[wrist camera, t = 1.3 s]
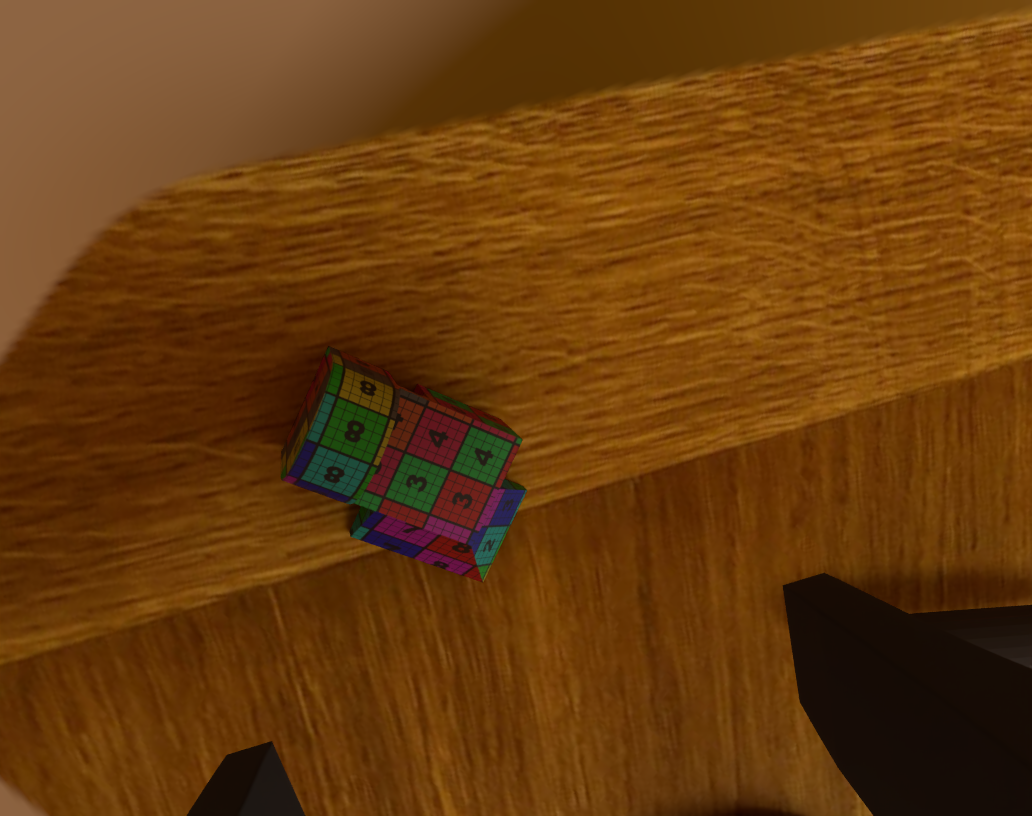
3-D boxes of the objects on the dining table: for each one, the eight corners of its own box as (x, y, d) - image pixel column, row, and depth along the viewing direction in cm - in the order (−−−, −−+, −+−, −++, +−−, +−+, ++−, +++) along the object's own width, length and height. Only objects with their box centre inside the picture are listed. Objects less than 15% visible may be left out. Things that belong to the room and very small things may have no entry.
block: (259, 500, 19) (253, 555, 16) (328, 345, 19) (336, 371, 16) (480, 577, 21) (513, 639, 18) (546, 438, 21) (592, 477, 18)
